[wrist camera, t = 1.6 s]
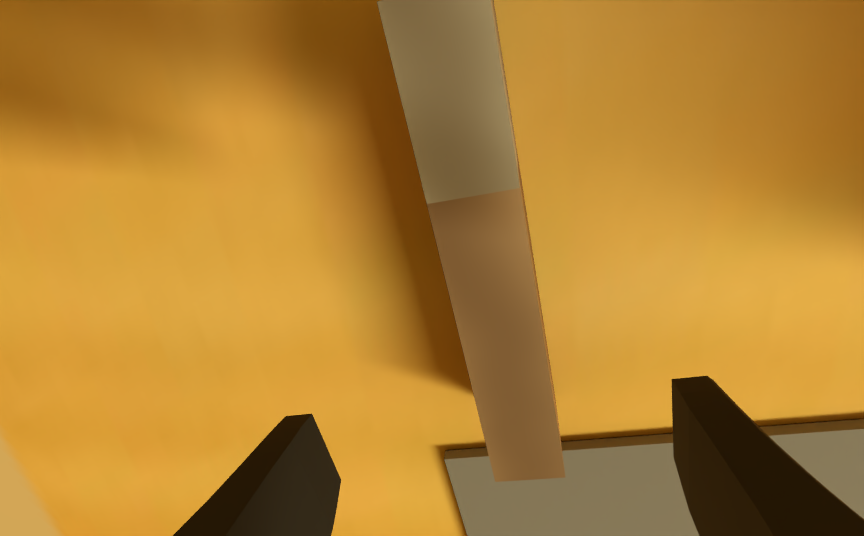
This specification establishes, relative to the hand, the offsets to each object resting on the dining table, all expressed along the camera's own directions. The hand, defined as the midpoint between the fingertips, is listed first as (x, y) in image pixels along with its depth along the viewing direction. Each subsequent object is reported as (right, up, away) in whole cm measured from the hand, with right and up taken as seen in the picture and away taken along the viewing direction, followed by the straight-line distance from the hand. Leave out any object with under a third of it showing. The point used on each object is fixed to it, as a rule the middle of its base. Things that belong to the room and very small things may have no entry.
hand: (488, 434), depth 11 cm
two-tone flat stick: (+1, +5, +8) cm, 9 cm away
